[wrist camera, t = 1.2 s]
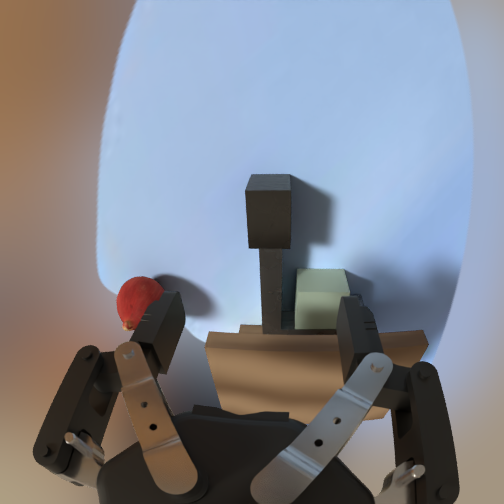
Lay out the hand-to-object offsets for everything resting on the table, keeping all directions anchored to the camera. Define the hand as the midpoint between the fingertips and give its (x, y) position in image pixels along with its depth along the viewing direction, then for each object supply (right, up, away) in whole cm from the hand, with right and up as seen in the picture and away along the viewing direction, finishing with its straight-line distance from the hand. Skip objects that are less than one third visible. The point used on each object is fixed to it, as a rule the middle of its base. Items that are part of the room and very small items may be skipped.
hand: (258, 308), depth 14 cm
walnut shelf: (+6, -2, +17) cm, 19 cm away
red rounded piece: (-12, -1, +19) cm, 22 cm away
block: (+7, -1, +17) cm, 18 cm away
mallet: (+6, +2, +15) cm, 16 cm away
